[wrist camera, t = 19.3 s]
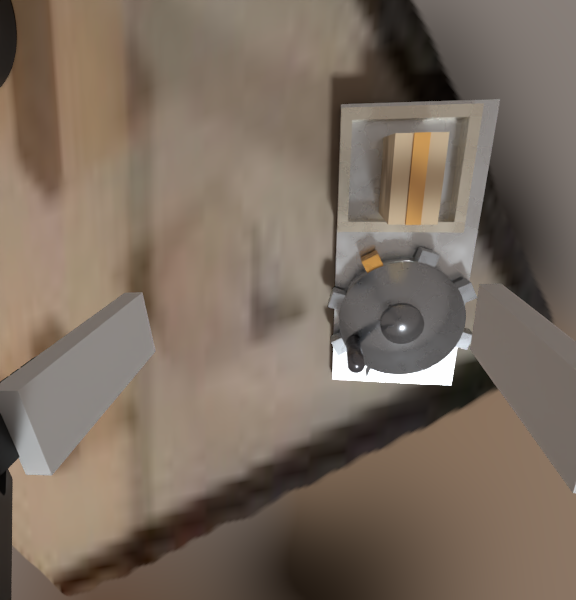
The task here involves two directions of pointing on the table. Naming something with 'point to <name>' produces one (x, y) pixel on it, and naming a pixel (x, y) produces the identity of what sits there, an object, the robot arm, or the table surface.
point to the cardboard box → (412, 177)
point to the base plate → (408, 238)
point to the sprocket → (401, 316)
